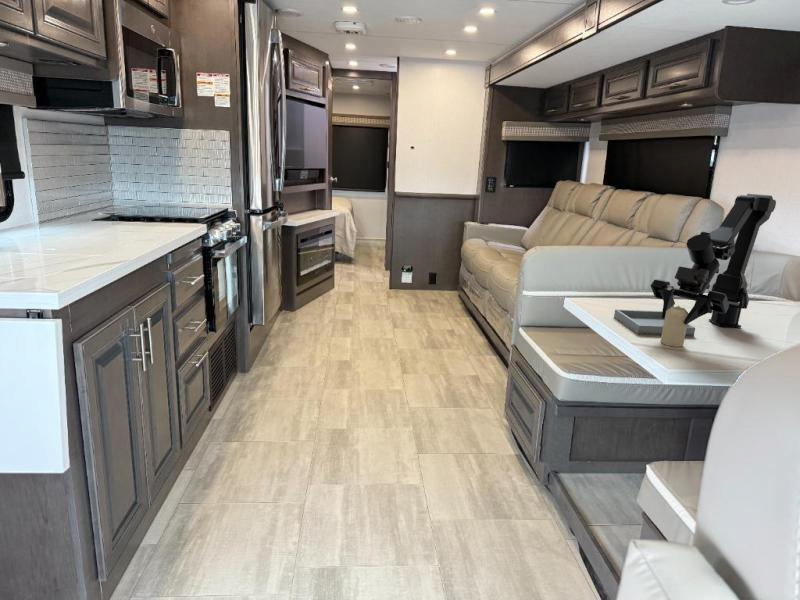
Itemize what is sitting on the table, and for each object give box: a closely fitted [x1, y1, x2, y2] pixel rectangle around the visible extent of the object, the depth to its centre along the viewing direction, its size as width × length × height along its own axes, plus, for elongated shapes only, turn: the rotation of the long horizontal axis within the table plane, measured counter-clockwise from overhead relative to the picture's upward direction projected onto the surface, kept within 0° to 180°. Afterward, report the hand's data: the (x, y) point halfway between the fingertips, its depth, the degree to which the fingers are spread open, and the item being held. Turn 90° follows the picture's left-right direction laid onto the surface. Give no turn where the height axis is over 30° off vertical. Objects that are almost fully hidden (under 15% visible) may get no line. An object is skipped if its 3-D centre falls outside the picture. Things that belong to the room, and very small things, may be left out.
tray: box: [613, 309, 696, 337], centre depth 160 cm, size 16×16×2 cm
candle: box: [660, 305, 689, 348], centre depth 145 cm, size 6×6×10 cm
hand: (673, 320), depth 144 cm, fingers closed on candle, 5 cm apart
